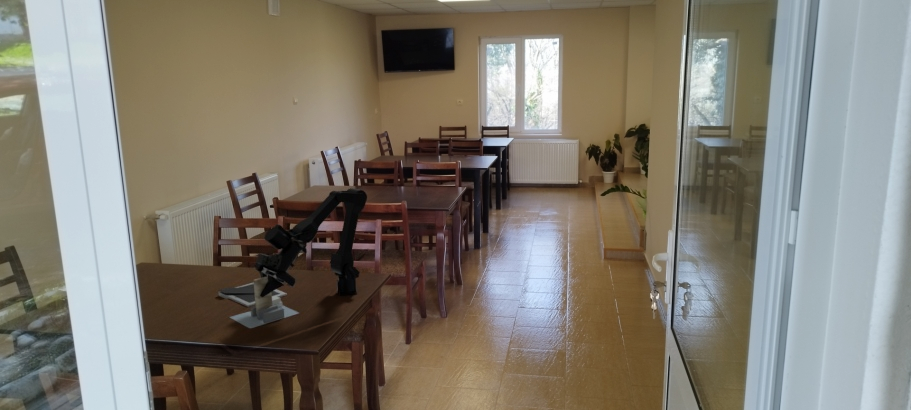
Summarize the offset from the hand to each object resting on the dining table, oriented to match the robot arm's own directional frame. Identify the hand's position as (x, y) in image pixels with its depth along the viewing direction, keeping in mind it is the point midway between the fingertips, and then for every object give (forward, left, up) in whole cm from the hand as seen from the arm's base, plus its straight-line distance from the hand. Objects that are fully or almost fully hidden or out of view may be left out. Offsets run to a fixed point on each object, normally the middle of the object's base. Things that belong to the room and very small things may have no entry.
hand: (259, 295), depth 200 cm
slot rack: (-1, -1, -8) cm, 8 cm away
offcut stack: (-4, -8, -7) cm, 11 cm away
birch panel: (-1, -1, -6) cm, 7 cm away
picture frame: (+3, -24, -9) cm, 25 cm away
